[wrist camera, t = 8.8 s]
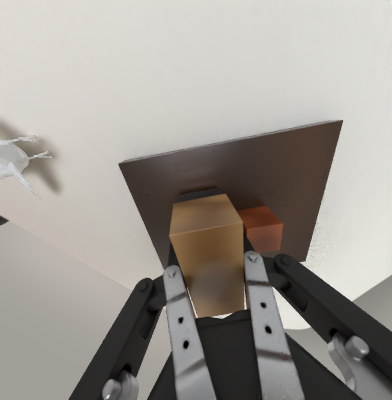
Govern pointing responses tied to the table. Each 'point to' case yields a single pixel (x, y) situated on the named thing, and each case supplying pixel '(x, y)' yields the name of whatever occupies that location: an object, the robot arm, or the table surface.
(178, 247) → the brush
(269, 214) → the reddish brown block
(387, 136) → the table surface
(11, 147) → the white bird figurine
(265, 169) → the tray
